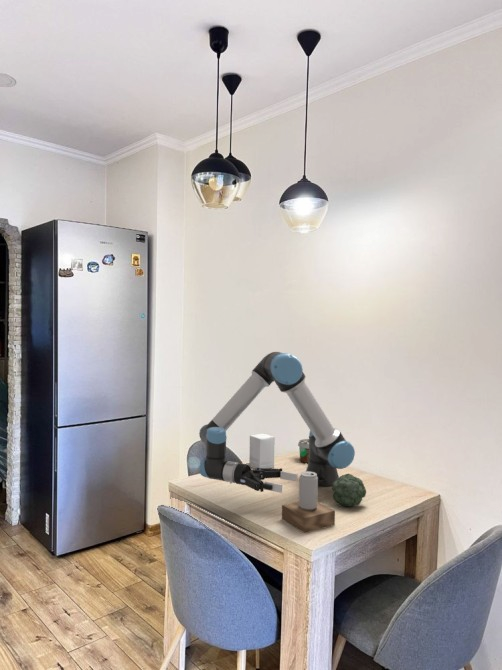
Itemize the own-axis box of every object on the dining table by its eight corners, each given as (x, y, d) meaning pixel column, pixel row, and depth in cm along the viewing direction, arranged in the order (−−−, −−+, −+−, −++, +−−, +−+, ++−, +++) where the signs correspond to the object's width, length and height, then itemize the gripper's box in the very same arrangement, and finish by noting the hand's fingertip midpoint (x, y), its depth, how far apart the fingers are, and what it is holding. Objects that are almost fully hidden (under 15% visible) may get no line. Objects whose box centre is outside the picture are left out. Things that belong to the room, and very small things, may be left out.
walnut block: (310, 512, 176) (311, 498, 175) (334, 525, 165) (334, 510, 164) (281, 519, 169) (282, 505, 169) (304, 533, 158) (305, 518, 158)
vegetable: (368, 492, 191) (373, 487, 178) (347, 517, 188) (351, 514, 174) (344, 471, 195) (347, 464, 182) (323, 495, 192) (325, 490, 179)
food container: (296, 457, 248) (297, 438, 247) (308, 457, 247) (309, 438, 247) (298, 464, 235) (298, 444, 235) (311, 464, 235) (311, 444, 235)
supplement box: (274, 467, 229) (275, 436, 229) (259, 470, 224) (260, 438, 224) (263, 463, 237) (264, 432, 236) (248, 465, 232) (249, 435, 231)
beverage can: (316, 512, 163) (317, 477, 163) (297, 510, 164) (298, 475, 164) (317, 505, 169) (318, 471, 169) (299, 503, 170) (300, 470, 170)
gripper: (252, 474, 191) (302, 483, 181) (219, 493, 169) (274, 504, 159) (253, 455, 190) (303, 463, 180) (220, 472, 168) (275, 482, 158)
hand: (289, 483), depth 170 cm, fingers open, 13 cm apart
